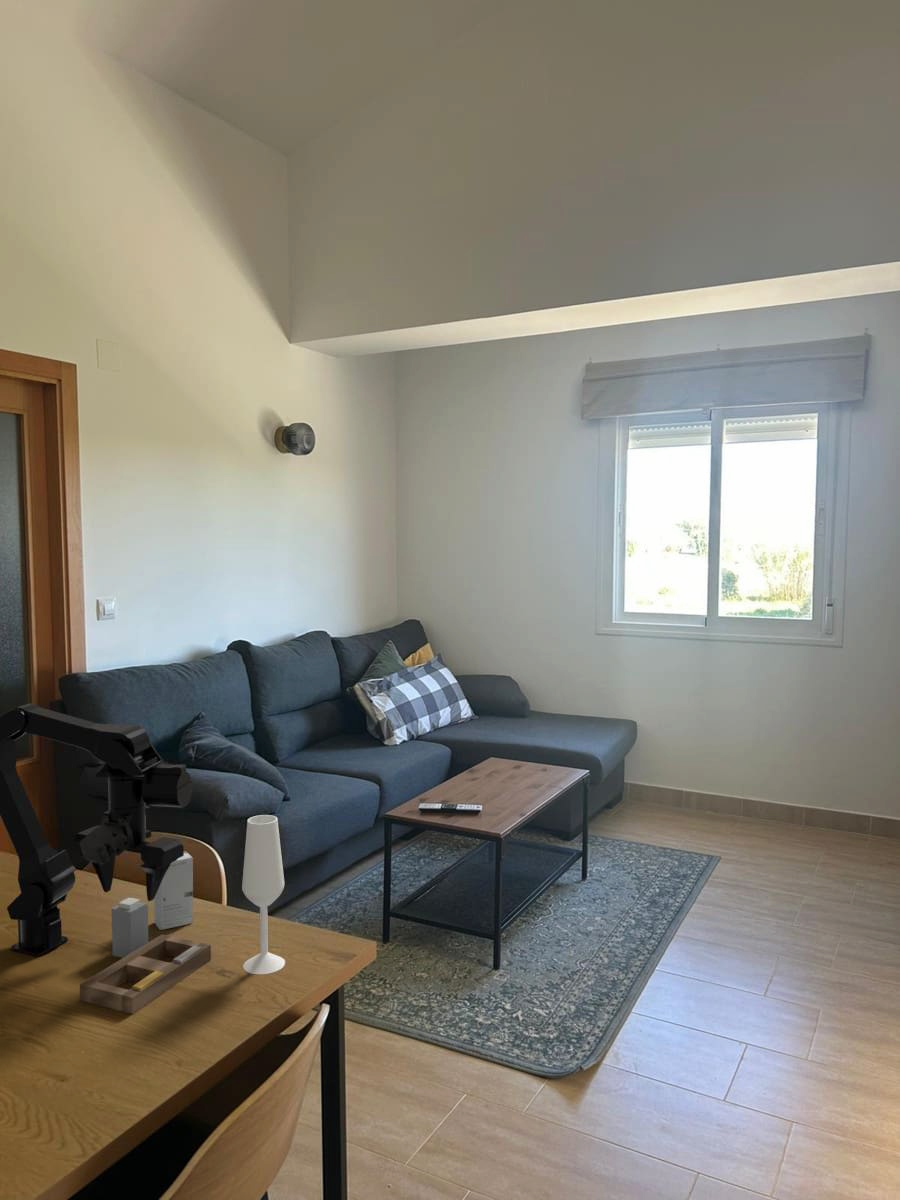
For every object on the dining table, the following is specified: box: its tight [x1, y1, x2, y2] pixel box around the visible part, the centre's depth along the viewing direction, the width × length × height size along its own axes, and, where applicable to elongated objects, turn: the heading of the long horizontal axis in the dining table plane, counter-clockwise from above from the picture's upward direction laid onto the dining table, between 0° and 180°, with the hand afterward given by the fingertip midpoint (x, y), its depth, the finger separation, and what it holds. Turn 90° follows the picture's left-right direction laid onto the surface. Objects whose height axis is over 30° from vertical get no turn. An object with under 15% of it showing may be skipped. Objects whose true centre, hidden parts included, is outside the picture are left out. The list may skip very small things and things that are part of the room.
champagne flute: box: [241, 814, 286, 975], centre depth 141 cm, size 7×7×24 cm
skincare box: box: [153, 851, 194, 931], centre depth 157 cm, size 6×4×12 cm
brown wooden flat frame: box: [79, 934, 212, 1015], centre depth 137 cm, size 10×18×3 cm, turn 158°
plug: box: [111, 897, 150, 959], centre depth 146 cm, size 4×4×9 cm
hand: (128, 895), depth 146 cm, fingers open, 9 cm apart
